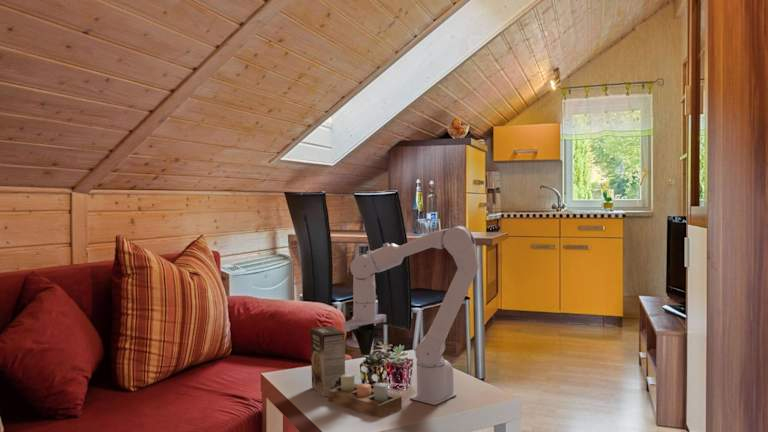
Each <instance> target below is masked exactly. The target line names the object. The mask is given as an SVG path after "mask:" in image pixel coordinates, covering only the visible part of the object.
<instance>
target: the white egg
mask: <svg viewBox="0 0 768 432" xmlns="http://www.w3.org/2000/svg"><path fill="white" fill-rule="evenodd" d="M373 389H374V401H377V402H381V403H383V402H385V401H388V393H389V384H388V383H386V382H376V383H374V384H373Z"/></svg>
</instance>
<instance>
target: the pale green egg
mask: <svg viewBox="0 0 768 432" xmlns="http://www.w3.org/2000/svg"><path fill="white" fill-rule="evenodd" d="M355 384H356V383H355V375H354V374H351V373H350V374H349V373H347V374H346V373H345V375H342V376H341V391H343V392H346V393H349V392H352V391H355Z"/></svg>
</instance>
